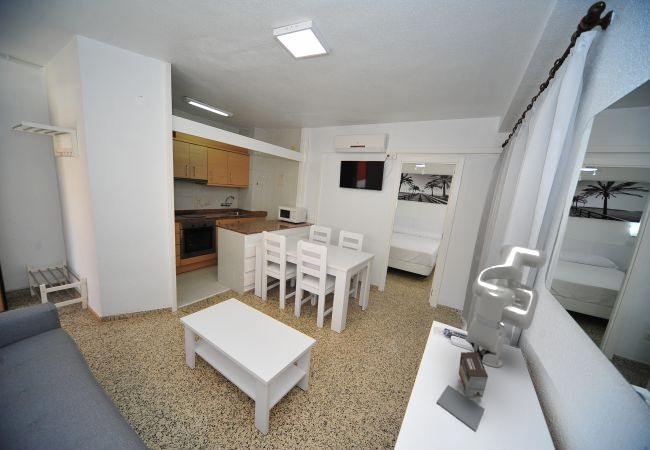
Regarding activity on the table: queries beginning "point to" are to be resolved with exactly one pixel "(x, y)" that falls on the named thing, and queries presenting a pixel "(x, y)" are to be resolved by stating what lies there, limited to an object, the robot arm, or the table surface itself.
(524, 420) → the table surface
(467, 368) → the coffee box
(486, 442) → the table surface
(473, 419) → the mat
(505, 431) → the table surface
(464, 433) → the table surface
